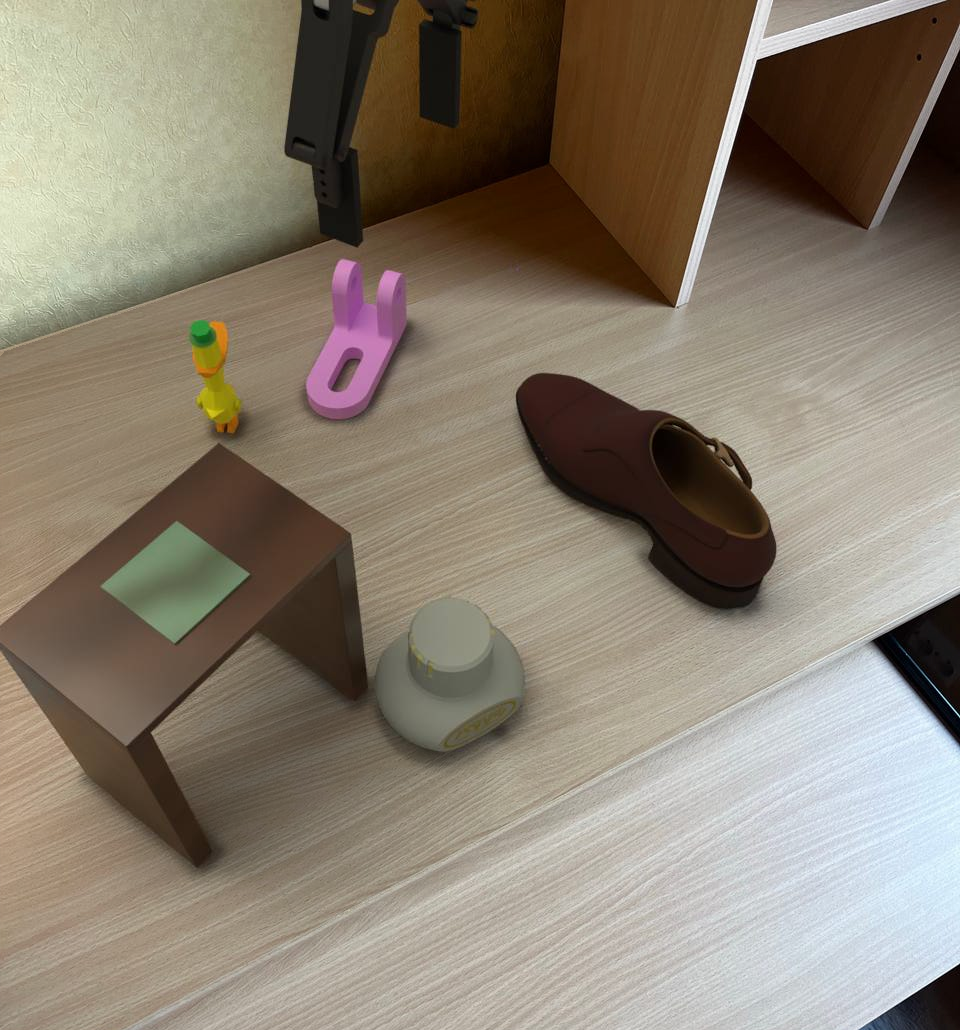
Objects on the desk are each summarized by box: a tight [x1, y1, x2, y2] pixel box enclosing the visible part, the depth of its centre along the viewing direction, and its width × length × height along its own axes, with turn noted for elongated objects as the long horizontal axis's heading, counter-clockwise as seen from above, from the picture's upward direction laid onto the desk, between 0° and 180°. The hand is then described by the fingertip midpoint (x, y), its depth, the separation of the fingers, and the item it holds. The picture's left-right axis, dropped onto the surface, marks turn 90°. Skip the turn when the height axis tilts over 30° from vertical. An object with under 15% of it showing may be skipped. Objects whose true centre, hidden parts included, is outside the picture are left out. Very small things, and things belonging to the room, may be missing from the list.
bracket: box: [305, 258, 408, 420], centre depth 96 cm, size 13×6×7 cm, turn 163°
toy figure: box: [188, 319, 243, 434], centre depth 90 cm, size 7×4×12 cm, turn 177°
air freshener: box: [374, 597, 526, 753], centre depth 78 cm, size 11×8×10 cm
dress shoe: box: [515, 372, 777, 610], centre depth 87 cm, size 9×28×12 cm, turn 39°
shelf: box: [0, 442, 370, 869], centre depth 72 cm, size 11×18×20 cm, turn 142°
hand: (392, 176), depth 73 cm, fingers open, 13 cm apart
